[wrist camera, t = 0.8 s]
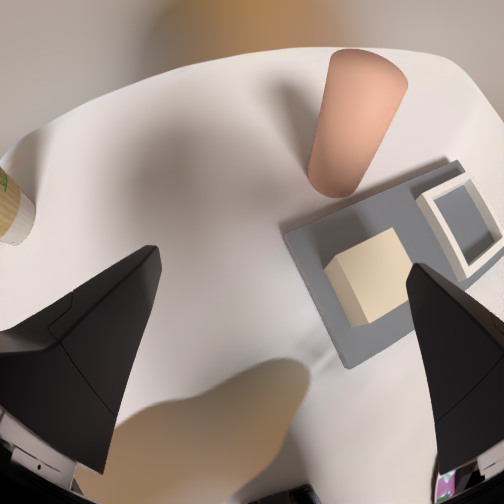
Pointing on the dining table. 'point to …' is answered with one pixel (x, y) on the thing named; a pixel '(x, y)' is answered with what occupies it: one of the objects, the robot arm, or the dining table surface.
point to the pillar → (353, 119)
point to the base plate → (410, 236)
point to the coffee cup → (14, 212)
